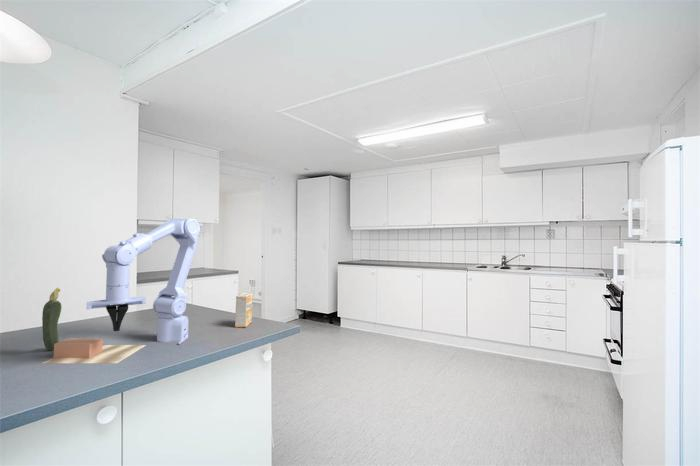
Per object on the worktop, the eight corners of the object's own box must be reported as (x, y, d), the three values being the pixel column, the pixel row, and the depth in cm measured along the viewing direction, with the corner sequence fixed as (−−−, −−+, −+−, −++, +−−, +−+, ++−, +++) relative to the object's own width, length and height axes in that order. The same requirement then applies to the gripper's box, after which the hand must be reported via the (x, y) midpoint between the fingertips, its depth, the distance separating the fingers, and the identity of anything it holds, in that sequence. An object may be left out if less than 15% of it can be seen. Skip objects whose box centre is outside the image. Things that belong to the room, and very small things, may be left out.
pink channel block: (102, 351, 104) (102, 338, 104) (89, 358, 98) (89, 344, 98) (68, 351, 103) (69, 338, 103) (53, 357, 98) (54, 343, 98)
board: (146, 347, 111) (146, 337, 111) (116, 365, 95) (117, 354, 95) (82, 347, 109) (82, 337, 109) (41, 366, 93) (41, 354, 93)
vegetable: (43, 356, 101) (46, 289, 101) (38, 353, 103) (41, 288, 103) (61, 352, 104) (64, 288, 105) (56, 349, 107) (59, 286, 107)
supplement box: (246, 328, 138) (247, 296, 138) (234, 327, 138) (235, 295, 138) (252, 323, 146) (253, 293, 146) (241, 322, 146) (242, 292, 146)
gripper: (143, 281, 109) (142, 323, 109) (87, 285, 99) (85, 330, 99) (147, 284, 103) (145, 328, 103) (87, 288, 94) (86, 336, 94)
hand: (116, 330), depth 101 cm, fingers closed
